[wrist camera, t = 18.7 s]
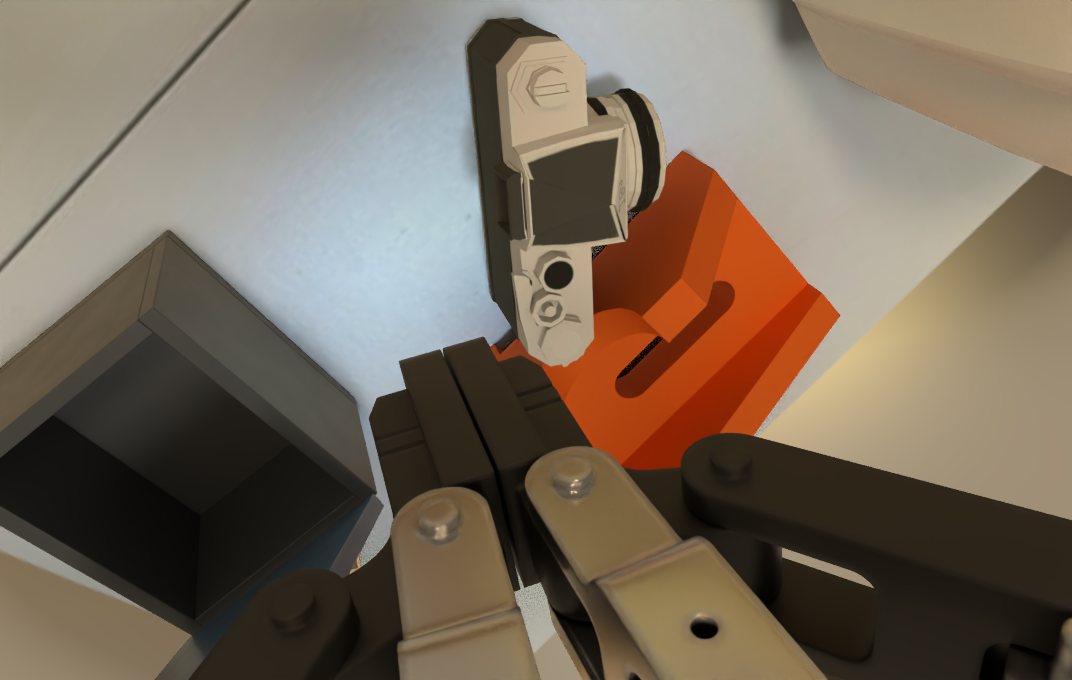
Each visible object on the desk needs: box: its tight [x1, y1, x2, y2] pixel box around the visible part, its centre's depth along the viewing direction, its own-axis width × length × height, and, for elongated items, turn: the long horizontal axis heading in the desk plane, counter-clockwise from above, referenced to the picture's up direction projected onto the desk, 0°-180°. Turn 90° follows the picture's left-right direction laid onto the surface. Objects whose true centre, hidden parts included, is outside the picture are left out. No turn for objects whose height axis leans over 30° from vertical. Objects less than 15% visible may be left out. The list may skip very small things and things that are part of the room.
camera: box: [466, 17, 667, 367], centre depth 40 cm, size 16×9×10 cm, turn 4°
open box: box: [0, 231, 377, 636], centre depth 40 cm, size 14×12×9 cm
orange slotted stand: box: [491, 151, 840, 470], centre depth 47 cm, size 18×13×8 cm
